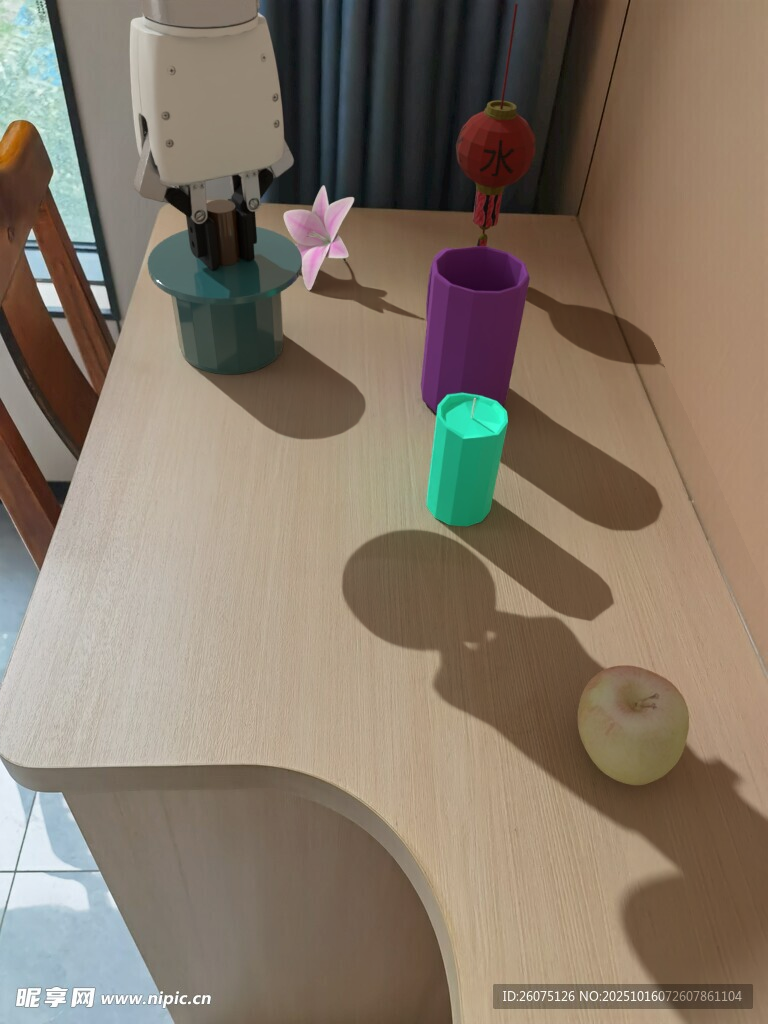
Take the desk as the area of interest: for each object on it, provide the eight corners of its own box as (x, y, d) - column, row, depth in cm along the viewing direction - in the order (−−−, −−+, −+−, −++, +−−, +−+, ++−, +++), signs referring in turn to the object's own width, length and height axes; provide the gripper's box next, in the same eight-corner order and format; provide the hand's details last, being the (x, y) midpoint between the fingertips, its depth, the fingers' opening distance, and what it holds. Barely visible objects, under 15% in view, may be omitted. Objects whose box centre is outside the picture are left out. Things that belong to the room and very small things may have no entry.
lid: (138, 311, 61) (125, 242, 57) (160, 235, 70) (150, 171, 66) (301, 312, 62) (299, 245, 58) (302, 237, 71) (301, 174, 67)
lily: (287, 249, 108) (257, 199, 100) (368, 216, 106) (344, 162, 98) (302, 318, 103) (271, 271, 95) (388, 285, 101) (364, 234, 93)
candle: (412, 499, 74) (422, 394, 65) (458, 472, 77) (473, 368, 68) (458, 536, 71) (476, 431, 62) (504, 506, 74) (526, 402, 65)
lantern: (515, 287, 102) (565, 19, 81) (441, 281, 102) (471, 12, 81) (513, 252, 108) (558, -5, 87) (443, 246, 109) (471, -11, 87)
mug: (436, 431, 81) (452, 298, 70) (389, 346, 91) (397, 220, 81) (519, 417, 83) (547, 286, 73) (464, 336, 93) (481, 211, 83)
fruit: (694, 768, 56) (735, 708, 50) (615, 818, 53) (649, 760, 48) (621, 686, 61) (651, 622, 55) (545, 727, 58) (568, 665, 52)
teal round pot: (175, 374, 85) (160, 286, 78) (185, 317, 93) (173, 231, 86) (282, 374, 86) (278, 286, 79) (284, 317, 94) (280, 232, 87)
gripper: (280, -27, 58) (289, 218, 71) (56, -6, 51) (112, 261, 64) (334, -2, 53) (333, 255, 67) (98, 25, 47) (148, 305, 60)
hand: (225, 256), depth 65 cm, fingers closed on lid, 2 cm apart
